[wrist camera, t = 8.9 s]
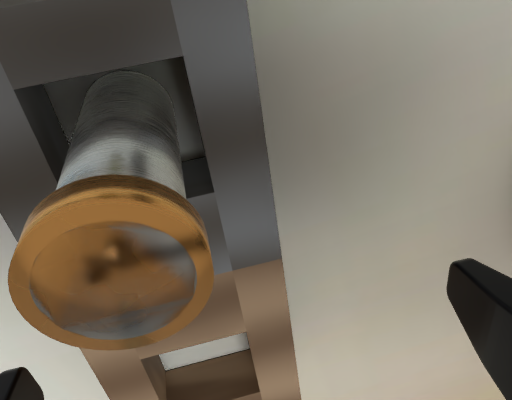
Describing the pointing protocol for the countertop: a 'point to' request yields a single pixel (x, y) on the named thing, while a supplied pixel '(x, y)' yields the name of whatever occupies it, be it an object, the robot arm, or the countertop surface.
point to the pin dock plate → (194, 171)
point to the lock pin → (115, 228)
